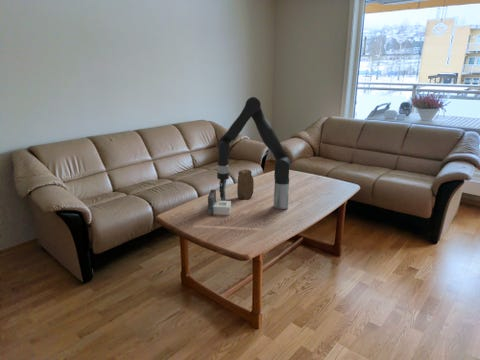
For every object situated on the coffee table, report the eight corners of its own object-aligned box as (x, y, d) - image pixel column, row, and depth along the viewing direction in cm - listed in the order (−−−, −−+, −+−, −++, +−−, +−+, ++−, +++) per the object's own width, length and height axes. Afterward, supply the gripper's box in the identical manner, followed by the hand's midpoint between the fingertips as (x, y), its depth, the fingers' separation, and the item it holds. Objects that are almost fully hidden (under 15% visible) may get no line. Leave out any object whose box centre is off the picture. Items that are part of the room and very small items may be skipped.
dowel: (225, 204, 228) (225, 187, 224) (225, 206, 225) (225, 189, 221) (220, 204, 228) (220, 187, 224) (220, 206, 225) (220, 189, 221)
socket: (231, 208, 219) (231, 201, 218) (229, 214, 210) (229, 207, 208) (215, 207, 220) (215, 200, 218) (213, 214, 210) (213, 206, 209)
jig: (242, 209, 221) (242, 190, 216) (240, 218, 208) (241, 198, 204) (211, 208, 222) (211, 189, 218) (208, 217, 210) (207, 197, 205)
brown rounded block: (242, 200, 235) (243, 173, 228) (236, 197, 240) (236, 170, 234) (254, 197, 241) (255, 170, 235) (247, 194, 247) (248, 167, 240)
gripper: (218, 167, 226) (218, 190, 232) (215, 174, 213) (215, 198, 218) (230, 168, 226) (229, 191, 231) (227, 175, 212) (227, 199, 218)
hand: (222, 194), depth 225 cm, fingers open, 8 cm apart
